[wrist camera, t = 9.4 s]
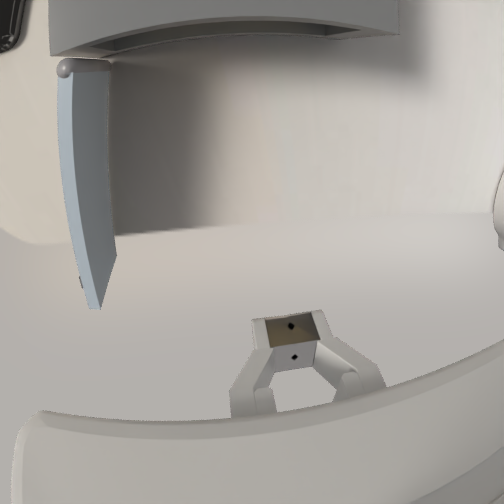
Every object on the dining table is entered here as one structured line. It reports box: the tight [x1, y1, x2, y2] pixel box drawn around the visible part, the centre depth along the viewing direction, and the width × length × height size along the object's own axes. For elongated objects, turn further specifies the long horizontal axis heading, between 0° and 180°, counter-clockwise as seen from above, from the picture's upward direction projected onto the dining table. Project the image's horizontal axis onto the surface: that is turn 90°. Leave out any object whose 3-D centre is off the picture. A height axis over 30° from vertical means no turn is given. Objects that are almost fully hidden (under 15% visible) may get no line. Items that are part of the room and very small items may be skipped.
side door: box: [57, 58, 117, 310], centre depth 15 cm, size 15×2×6 cm, turn 172°
